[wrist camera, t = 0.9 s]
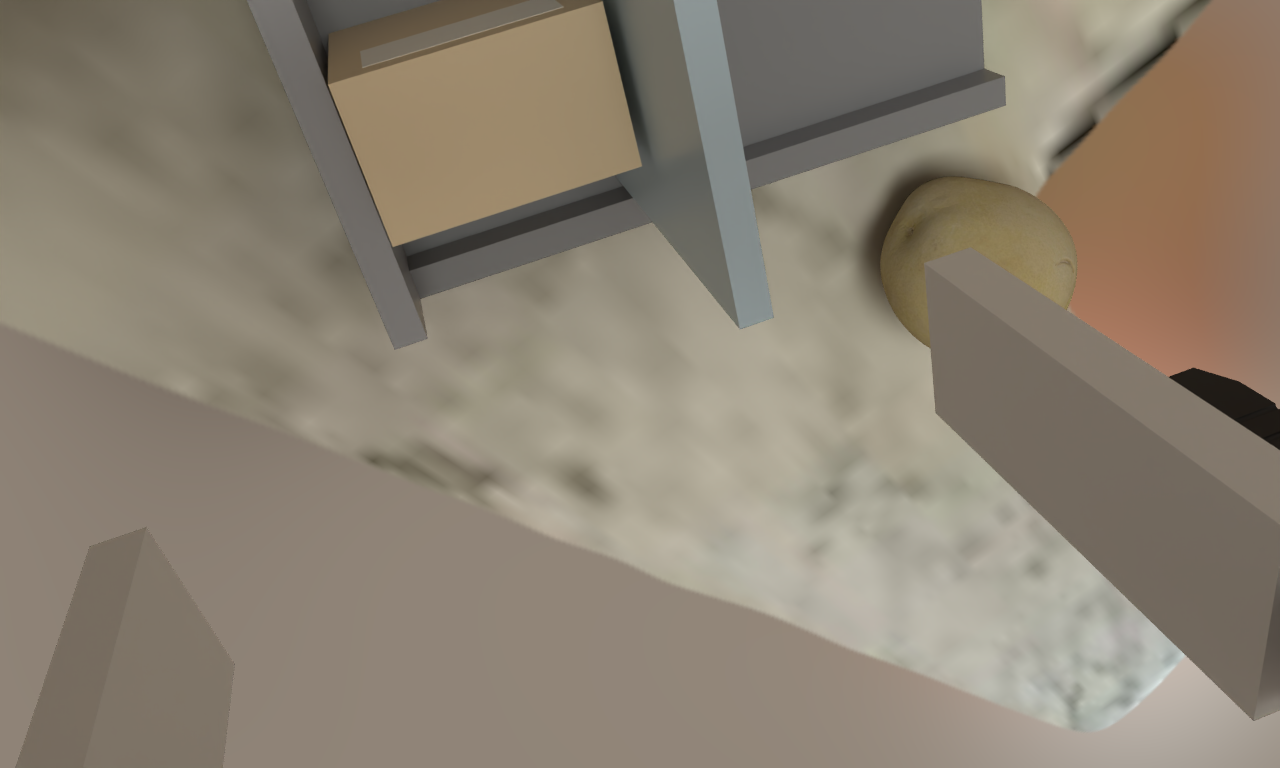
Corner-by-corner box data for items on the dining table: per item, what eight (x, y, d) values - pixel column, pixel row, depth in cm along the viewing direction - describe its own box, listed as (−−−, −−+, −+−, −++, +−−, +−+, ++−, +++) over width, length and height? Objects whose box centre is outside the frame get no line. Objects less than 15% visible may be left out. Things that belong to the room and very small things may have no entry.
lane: (227, -104, 32) (207, -92, 27) (952, -307, 35) (1057, -329, 30) (386, 283, 40) (394, 349, 35) (972, 91, 43) (1058, 127, 38)
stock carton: (328, 33, 34) (327, 83, 27) (550, -33, 35) (602, 0, 28) (381, 170, 37) (392, 247, 30) (586, 105, 38) (642, 166, 31)
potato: (930, 339, 49) (1027, 422, 42) (818, 264, 45) (905, 341, 38) (1035, 211, 47) (1154, 276, 40) (927, 121, 43) (1038, 175, 36)
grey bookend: (538, -129, 33) (652, -104, 21) (650, -161, 34) (823, -154, 22) (616, 177, 39) (740, 329, 27) (711, 146, 39) (873, 282, 28)
